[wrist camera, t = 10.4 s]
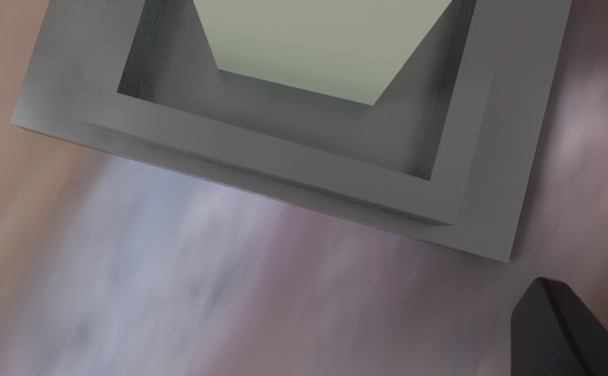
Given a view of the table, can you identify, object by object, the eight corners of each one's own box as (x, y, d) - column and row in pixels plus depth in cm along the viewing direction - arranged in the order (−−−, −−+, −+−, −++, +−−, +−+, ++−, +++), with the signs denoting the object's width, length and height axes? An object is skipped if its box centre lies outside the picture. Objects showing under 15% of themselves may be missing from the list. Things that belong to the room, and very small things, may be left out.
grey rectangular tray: (495, 261, 19) (537, 266, 16) (23, 129, 19) (-26, 109, 16) (578, -74, 20) (631, -127, 17) (132, -205, 20) (106, -284, 17)
